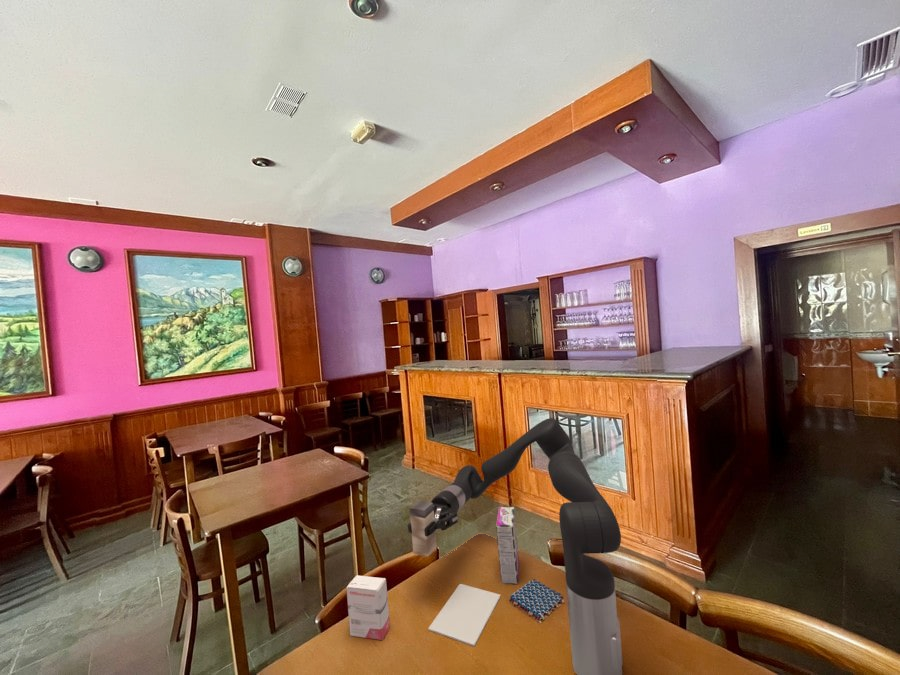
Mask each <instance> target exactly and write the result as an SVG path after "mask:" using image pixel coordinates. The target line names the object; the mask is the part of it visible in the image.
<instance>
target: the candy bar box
mask: <svg viewBox="0 0 900 675" xmlns="http://www.w3.org/2000/svg"><path fill="white" fill-rule="evenodd" d="M495 528H496V540H497V549H498V559H499V561H498V562H499V570H500V572H499V573H500V582H501V584H505V585H507V584H508V585H509V584H510V585H518V584H519V567H520V566H519V564H520V562H519V561H520V558H519V549H518V548H519V547H518V546H519V545H518V536H517V527H516V515H515V507H514V506H498V510H497V518H496V524H495ZM517 550H518V551H517Z"/></svg>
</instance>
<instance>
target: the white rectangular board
mask: <svg viewBox="0 0 900 675" xmlns="http://www.w3.org/2000/svg"><path fill="white" fill-rule="evenodd" d="M501 596H502V594H499V593H496V592H492V591H489V590H486V589H485V590H484V589H481V588H478V587H474V586H470V585H467V584H463V583H460V584H459V585H458V586H457V587H456V589H455V590H454V592H453V593H452V594H451V596H450V597H449V598H448V600H446V603H445V604H444V606H443V607H442V608H441V609H440V611H439V613H437V615H436V617H435V618H434V619H433V621H432V623H430V625H429V627H427V628H428V631H430V632H432V633H436V634H438V635H441V636H443V637H447V638H449V639H452V640H455V641H458V642H460V643H463V644H466V645H469V646H471V647H476V644H477V642H478V640H479V639H480V637H481V635H482V633H483V631H484V630H485V628H486V625H487V623H488V621H489V619H490V617H491V616H492V614H493V612H494V610H495V608H496V607H497V604H498V603H499V601H500V598H501Z"/></svg>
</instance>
